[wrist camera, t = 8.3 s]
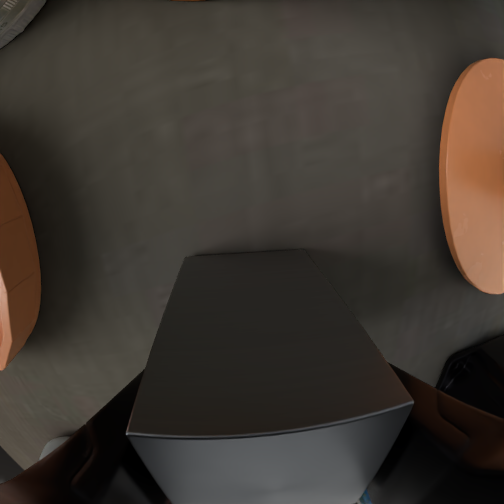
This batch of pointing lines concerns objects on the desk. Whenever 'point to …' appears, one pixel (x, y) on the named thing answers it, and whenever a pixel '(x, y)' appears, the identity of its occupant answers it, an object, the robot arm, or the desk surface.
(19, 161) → the desk surface
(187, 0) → the disposable coffee cup
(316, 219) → the desk surface
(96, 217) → the desk surface
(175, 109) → the desk surface
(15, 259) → the terracotta plant saucer
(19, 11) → the camera lens
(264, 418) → the block
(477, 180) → the lid
